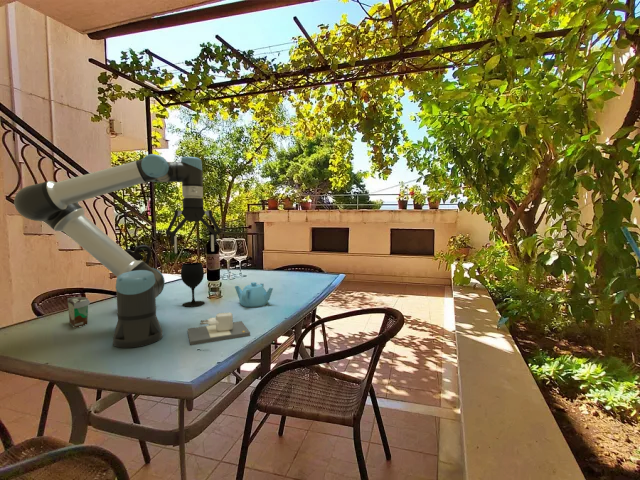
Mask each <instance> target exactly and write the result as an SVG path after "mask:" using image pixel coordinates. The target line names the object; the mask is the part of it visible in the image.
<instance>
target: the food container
mask: <svg viewBox="0 0 640 480" xmlns="http://www.w3.org/2000/svg"><path fill="white" fill-rule="evenodd" d="M90 302H91V301H90V300H89V298H88V297H85V296H76V297H68V298H67V306H68V310H67V311H68V319H69V324H70V323H71V324H72V325H73V326H74V327H78V328H80V327H79V326H82V327H84V326H86V325H88V321H89V319H88V318H89V317H88V315H89V305H90V304H91V303H90ZM71 324H70V325H71ZM85 324H86V325H85ZM72 325H71V326H72ZM83 325H84V326H83ZM73 326H72V327H73ZM74 327H73V328H74Z"/></svg>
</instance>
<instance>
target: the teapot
mask: <svg viewBox="0 0 640 480" xmlns="http://www.w3.org/2000/svg"><path fill="white" fill-rule="evenodd" d="M264 286H265V285H264V283H260V284H258V282H257V281H254V282H253V281H252V282H250V284H247V285H245V286H244V287H243V289H241V287H240V286H239V285H235V286H234V288H235V292H236V294H237V297H238V299H239V300H238V301H239V304H240V305H241V306H242V307H245V308H260V307H264V306H265V305H267V303H268V302H269V300H270V299H271V295H272V293H273V290H274V288H273V287H269V288H268V289H267V290H266V288H265V287H264Z"/></svg>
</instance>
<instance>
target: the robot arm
mask: <svg viewBox="0 0 640 480" xmlns="http://www.w3.org/2000/svg"><path fill="white" fill-rule="evenodd" d="M203 178H204V177H203V161H202V159H201V158H199V157H196V156H195V157H194V156H182V157H181V158H180V161H179V162H176V161H173V162H172V161H167V159H166V158H165V157H163V156H162V155H159V154H155V153H150V154H147V155H145V156H144V157H143V158H142V159H141V158H140V159H138V160H134V161H130V162H127V163H122V164H120V165H116V166H111V167H108V168H105V169H102V170H97V171H94V172H91V173H86V174H83V175H79V176H74V177H72V178H68V179H65V180H61V181H58V182H57V181H56V182H55V181H54V180H53V181H52V180H47V181H44V182H39V183H35V184H31V185H27V186H25V187H22V188H21V189H20V190H19V191H17V192H16V194H15V196H14V199H13V200H14V201H13V204H14V207H15V210H16V211H17V213H19V214H20V215H21V216H22V217H24V218H25V219H27V220H30V221H34V222H35V221H36V222H44V223H45V224H46V225H48V226H49V227H50V228H51V229H53V231H55V232H63V233H64V234H65V235H67V236H68V237H69V238H71V240H73V241H74V242H75V243H77V244H78V245H79V247H81V248H82V249H83V250H85V251H86V252H87V253H88V254H89V255H91V257H93V258H94V259H95V260H96V261H97V262H99V263H100V264H101V265H103V266H104V267H105V268H106V269H107V270H109V272H111V273H112V274H113V275H114V276H116V281H115V282H116V283H115V290H116V291H115V292H116V308H117V312H116V313H117V322H116V325H115V328H114V331H113V335H112V345H113V346H114V347H116V348H119V349H121V348H122V349H124V348H127V349H128V348H129V349H130V348H132V349H133V348H139V347H143V346H147V345H151V344H154V343H157V342H158V341H159V340H161V339H162V338H163V328H162V326H161V324H160V321H159V319H158V316H157V304H156V303H157V302H156V301H157V300H156V299H157V297H159V295H161V294H162V292H163V291H164V288H165V285H166V284H165V277H164V275H163V274H162V272H161V271H160V270H159V269H156V268H154V267H151V266H150V265H149V264H148V265H147V264H146V263H145V261H144V260H140V261H137V260H135V259H134V258H133V257H132V256H130V255H129V254H128V253H127V252H126V250H125V249H123V248H122V247H121V245H119V244H118V243H117V242H116V241H114V239H112V238H111V237H110V236H109V235H108V234H106V233H105V232H104V231H103V230H102V229H101V228H99V227H98V226H97V225H96V224H95V223H94V222H93V221H92V220H90V219H89V218H88V217H87V216H86V215H85V213H86V212H85V209H84V207H83V206H81V205H80V204H79V202H82V201H86V200H89V199H92V198H96V197H99V196H103V195H106V194H110V193H112V192H117V191H120V190H123V189H127V188H130V187H133V186H136V185H141V184H144V183H148V182H152V183H154V182H156V183H181V185H182V186H181V193H182V196H181V197H183V198H182V210H177V209H176V210H173V211H174V212H173V217H172V219H171V221H170V222H169V224H168V227H167V229H166V230H165V234H166V235H168V236H170V243H171V245H174V254H178V249H177V248H178V243H177V242H178V241H177V235H176V233H178V231H180V229H181V228H182V227H183V226H184V225H185V224H186V223H187V222H191V223H193V222H197V223H198V222H201V223H202V224H203V225H204V226H205V227H206V228H207V229H208V231H209V232H210V233H211V234H210V248H211V249H210V251H211V252H215V244H216V243H217V241H218V240H217V235H218V234H221V233H222V231H221V229H220V227H219V225H218V223H217V221H216V220H215V217H214V216H213V211H212V210H211V209H210V210H209V209H208V210H205V208H204V199H203V197H204V187H203V186H204V185H203V183H204V182H203V181H204V179H203ZM180 215H182V216H183V219H182V220H181V221H180V222H179V223H178V225H177V226H176V227H175V228H174V230H173V231H172V232H171V230H172V229H173V226H174V225H175V222H176V221H177V219H178V217H179V216H180ZM205 215H206V216H207V217H208V218H209V220H210V221H211V223H212V225H213V227H214V228H213V227H212V226H211V225H210V224H209V223H208V222H207V221H206V220H205V219H204V218H203V217H204V216H205Z"/></svg>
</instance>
